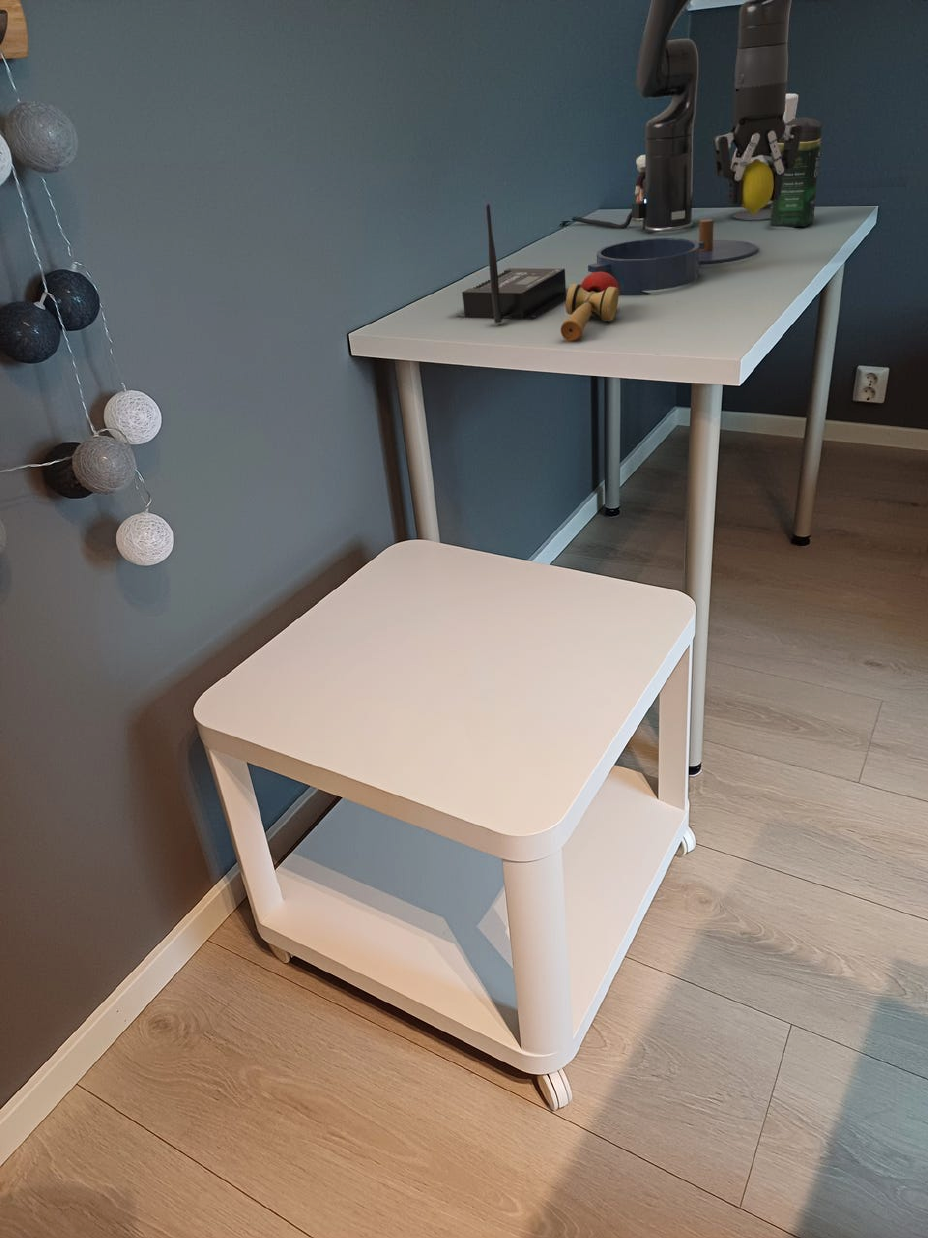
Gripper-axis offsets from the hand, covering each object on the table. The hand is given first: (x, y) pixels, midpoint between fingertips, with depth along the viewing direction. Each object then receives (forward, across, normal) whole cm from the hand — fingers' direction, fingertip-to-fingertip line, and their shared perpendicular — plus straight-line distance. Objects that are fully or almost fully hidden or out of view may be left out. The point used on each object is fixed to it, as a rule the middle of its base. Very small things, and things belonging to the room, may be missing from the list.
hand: (754, 202), depth 149 cm
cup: (+11, -26, -44) cm, 53 cm away
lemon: (+2, 0, 0) cm, 2 cm away
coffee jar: (+11, -25, -31) cm, 41 cm away
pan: (+11, +16, -5) cm, 20 cm away
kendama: (+11, +33, +13) cm, 37 cm away
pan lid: (+10, 0, -16) cm, 19 cm away
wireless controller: (+11, +40, -3) cm, 42 cm away
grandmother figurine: (+11, -7, -60) cm, 62 cm away
